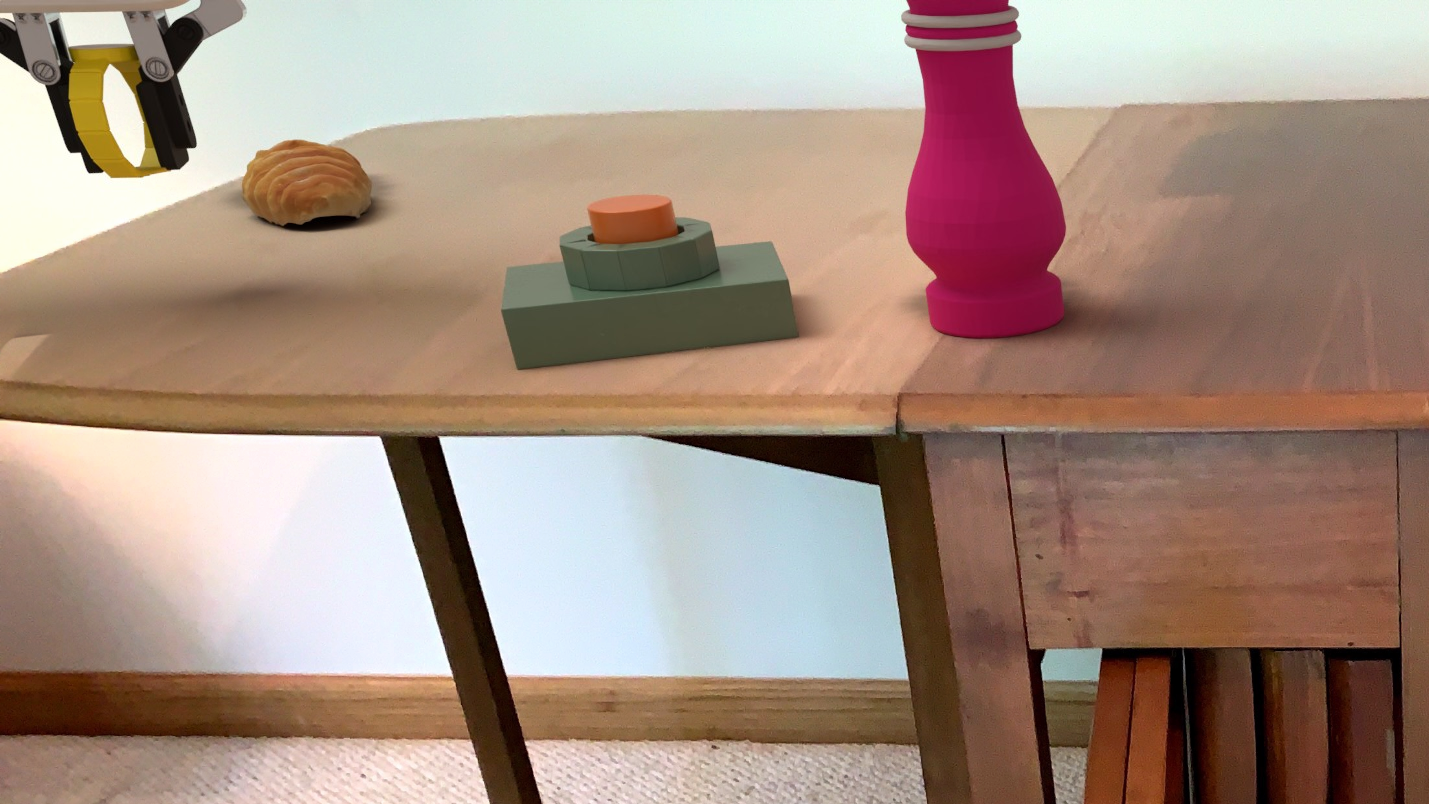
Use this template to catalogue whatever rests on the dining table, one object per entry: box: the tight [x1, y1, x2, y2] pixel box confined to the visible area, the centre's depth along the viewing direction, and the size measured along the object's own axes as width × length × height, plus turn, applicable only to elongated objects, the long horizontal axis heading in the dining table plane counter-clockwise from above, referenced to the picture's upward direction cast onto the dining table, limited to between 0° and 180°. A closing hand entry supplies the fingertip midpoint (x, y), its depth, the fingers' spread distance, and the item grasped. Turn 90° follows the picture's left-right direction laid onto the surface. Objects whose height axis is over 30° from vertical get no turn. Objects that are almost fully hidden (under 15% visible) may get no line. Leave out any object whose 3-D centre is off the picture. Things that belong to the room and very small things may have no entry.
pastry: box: [241, 139, 373, 227], centre depth 101 cm, size 9×7×4 cm
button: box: [586, 194, 679, 244], centre depth 77 cm, size 4×4×2 cm
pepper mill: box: [900, 0, 1067, 339], centre depth 75 cm, size 7×7×20 cm
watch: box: [68, 43, 172, 179], centre depth 82 cm, size 6×3×6 cm, turn 6°
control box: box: [500, 216, 800, 371], centre depth 79 cm, size 12×8×4 cm, turn 112°
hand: (139, 163), depth 83 cm, fingers closed on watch, 2 cm apart
